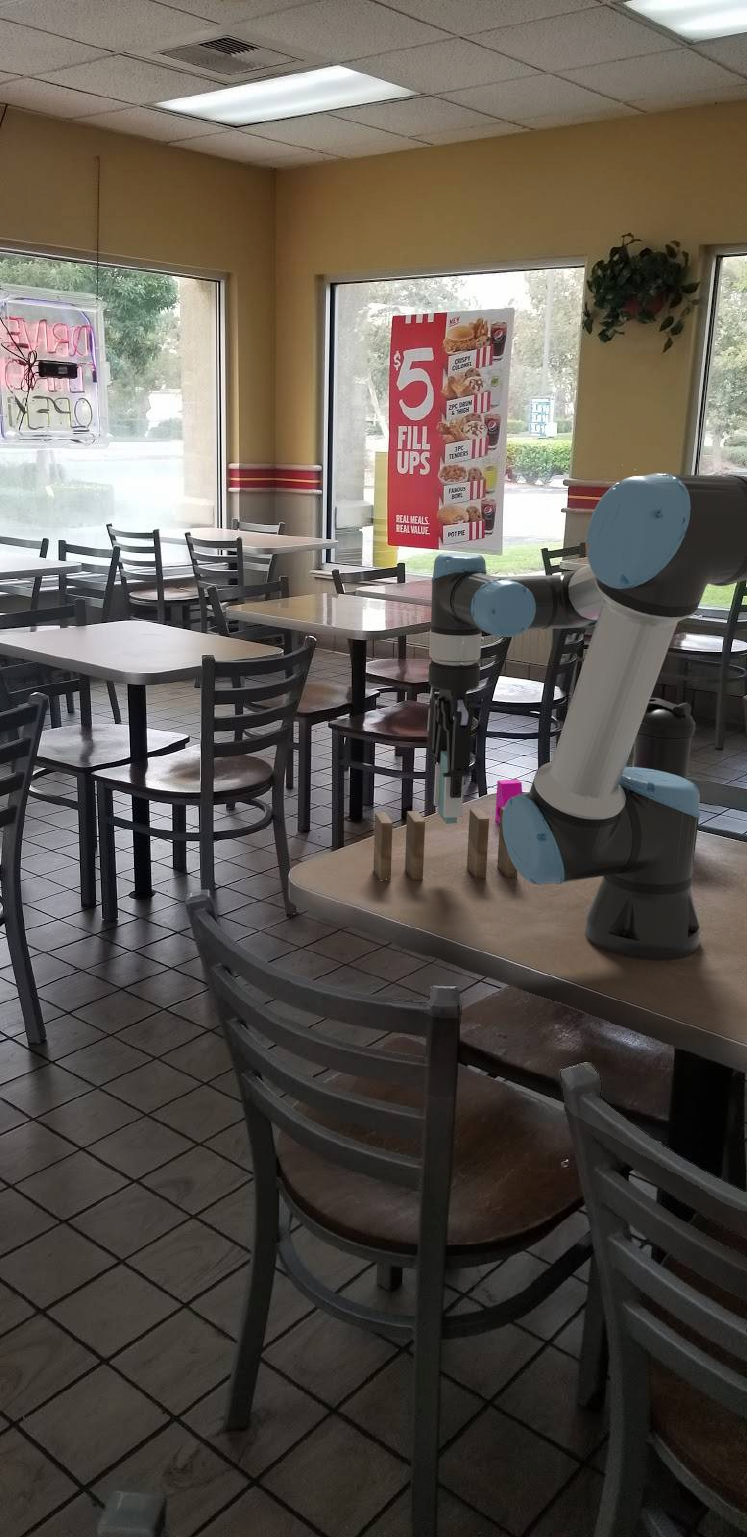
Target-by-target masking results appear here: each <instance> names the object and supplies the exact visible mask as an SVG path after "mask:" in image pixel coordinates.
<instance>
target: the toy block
mask: <svg viewBox="0 0 747 1537" xmlns="http://www.w3.org/2000/svg"><path fill="white" fill-rule="evenodd" d="M496 784H497V785H496V797H495V799H496V801H495V813H494V814H495V817H494V821H495V822H497V824H499V825H500V811H501V807H505V805H506V803H507V801H508V800H509V799H510V798H512V797H515V796H517V795H518V794H523V782H522V781H520V780H519V779H517V778H516V779H502V780H501V779H500V780H497V783H496Z"/></svg>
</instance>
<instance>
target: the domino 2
mask: <svg viewBox="0 0 747 1537" xmlns="http://www.w3.org/2000/svg"><path fill="white" fill-rule="evenodd" d="M425 830H426V820H425V819H424V818H423V816H422V815H421V814H420V812H419V811H418V810H410V811H409V810H408V811H406V830H405V831H406V832H405V859H404V871H405V872H406V873H407V875H408V876H409V877H410V879H411V880H412V881H423V880H424V858H425V857H424V855H425V834H426V831H425Z"/></svg>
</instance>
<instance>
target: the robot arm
mask: <svg viewBox="0 0 747 1537" xmlns="http://www.w3.org/2000/svg"><path fill="white" fill-rule="evenodd" d="M586 533H587V535H586V544H587V545H589V549H588V550H587V552H586V556H587V560H588V563H589V564H587V565H585V566H582V567H581V568H578V569H576V570H574V571H573V570H572V571H571V572H569V573H565V574H552V575H551V574H549V575H545V574H544V575H515V576H494V575H489V574H487V568H486V567H487V565H486V560H485V558H484V556H483V555H481V554H477V553H468V552H446V553H440V554H438V555H437V556H436V557H435V559H434V561H433V571H432V572H433V574H432V578H431V603H430V604H431V607H430V608H431V610H430V612H431V613H430V614H431V616H430V631H429V649H428V650H429V651H428V655H429V657H430V658H431V660H430V661H429V662H428V678H427V679H428V680H427V681H428V684H429V686H430V687H432V688H434V689H437V690H439V691H438V692H437V691H435V692H433V694H432V698H433V717H432V718H433V719H432V738H431V751H430V752H431V755H432V756H434V758H433V759H434V763H435V765H434V766H435V768H434V786H433V787H434V788H433V791H434V793H433V805H434V806H435V807H438V804H439V783H440V760H441V751H447V769H448V771H447V773H443V777H445V788H444V809H443V817H444V818H450V817H457V818H462V817H463V804H464V803H463V802H464V784H465V783H464V782H465V780H464V779H465V776H466V777H468V776H470V762H471V743H472V742H471V740H472V726H473V721H474V720H473V719H474V716H475V715H474V711H472V710H470V701H469V700H468V698H467V693H468V691H470V690H471V691H472V690H476V689H477V688H478V687H479V686H480V677H481V676H480V675H481V674H480V673H481V663H479V661H478V660H479V659H480V658H481V650H482V647H481V645H482V644H484V643H485V638H484V637H482V632H485V633H487V634H490V635H492V636H496V637H499V636H500V637H505V638H512V637H516V636H519V635H520V634H522V633H523V632H525V631H540V630H548V629H549V630H551V629H574V628H579V629H588V628H593V627H594V629H593V633H592V636H591V638H590V642H589V644H588V647H587V651H586V654H585V657H584V661H583V664H582V665H581V666H582V667H581V669H580V673H579V676H578V679H577V682H576V685H575V689H574V692H573V695H572V698H571V700H570V704H569V707H568V711H567V713H566V717H565V720H564V722H563V726H562V729H561V732H560V736H559V739H558V742H557V745H556V747H555V752H554V753H553V757H552V760H551V761H550V762H547V763H545V764H543V765H541V766H540V767H539V768H538V769H537V770H536V772H535V774H534V777H533V780H532V783H531V785H530V789H529V792H527V793H526V794H524V793H522V794H518V795H517V796H515V797H512V798H510V799H509V800H508V801H507V803H506V805H505V807H504V811H503V819H502V827H503V836H504V841H505V844H506V848H507V852H508V854H509V857H510V859H511V861H512V863H513V865H514V867H515V868H516V870H517V873H518V874H519V875H520V876H521V877H522V878H523V879H524V880H525V881H527V882H528V883H530V884H534V885H538V886H540V885H541V886H542V885H543V886H544V885H560V884H561V885H563V884H564V883H568V882H569V883H570V882H575V881H580V880H587V879H593V878H598V877H599V878H600V877H602V880H601V882H600V885H599V887H598V889H597V891H596V893H595V896H594V898H593V900H592V902H591V905H590V907H589V909H588V912H587V914H586V917H585V928H584V929H585V930H584V933H585V936H586V938H587V939H588V941H589V942H591V943H592V944H593V945H594V946H596V947H598V948H600V949H602V950H604V951H606V952H608V953H611V954H614V955H618V956H621V957H626V958H630V959H636V960H637V959H638V960H644V961H671V960H678V959H682V958H684V957H687V956H690V955H692V954H693V953H695V952H696V951H697V949H698V948H699V943H700V933H701V932H700V931H701V930H700V924H699V920H698V919H699V918H698V915H697V911H696V906H695V902H694V901H695V900H694V898H693V892H692V879H693V872H694V861H695V852H696V845H697V838H698V837H697V836H698V831H699V830H698V828H699V822H700V821H699V819H700V818H701V813H700V800H701V799H700V798H701V794H700V791H699V788H698V787H697V785H695V783H693V782H692V781H690V780H689V779H687V778H686V779H685V778H682V777H680V776H677V775H674V774H670V773H667V772H662V771H658V770H653V769H647V768H638V767H633V766H627V763H628V760H629V757H630V755H631V751H632V750H633V748H634V741H635V738H636V736H637V733H638V730H639V727H640V725H641V722H642V719H643V716H644V714H645V711H646V708H647V705H648V703H649V700H650V698H652V694H653V692H654V689H655V686H656V683H657V680H658V678H659V675H660V673H661V670H662V667H663V664H664V661H665V659H666V655H667V653H668V650H669V647H670V644H671V642H672V639H673V637H674V634H675V631H676V628H677V625H678V623H679V622H680V621H683V620H686V619H688V618H691V617H692V616H694V615H695V614H696V612H697V611H698V609H699V605H700V603H701V602H702V601H701V600H702V598H703V596H704V593H705V590H706V588H707V586H708V585H711V586H714V587H726V586H730V585H733V584H737V583H739V582H743V581H744V582H745V581H747V475H735V474H727V475H725V474H724V475H712V474H711V475H709V474H705V475H704V474H703V475H701V474H700V475H699V474H698V475H697V474H696V475H695V474H693V475H692V474H670V473H665V472H664V473H663V472H660V473H651V474H647V475H635V476H630V477H626V478H623V479H622V480H620V481H619V482H616V483H615V484H613V485H612V486H611V487H610V488H609V489H608V490H607V491H605V493H604V494H603V495H602V497H601V498H600V500H599V501H598V502H597V504H596V506H595V508H594V510H593V513H592V515H591V518H590V520H589V523H588V528H587V532H586Z"/></svg>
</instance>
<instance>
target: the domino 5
mask: <svg viewBox="0 0 747 1537" xmlns="http://www.w3.org/2000/svg"><path fill="white" fill-rule="evenodd" d="M503 811H504V807H501V811H500V824H499V828H498V830H499V831H498V850H497V866H496V867H497V868H498V869H499V871H501V872H502V874H503V875H504V876H505V877H506V878H517V877H518V871H517V870H516V868H515V867H514V865H513V863H512V861H511V859H510V857H509V854H508V852H507V848H506V844H505V841H504V836H503V827H502V819H503Z"/></svg>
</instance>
